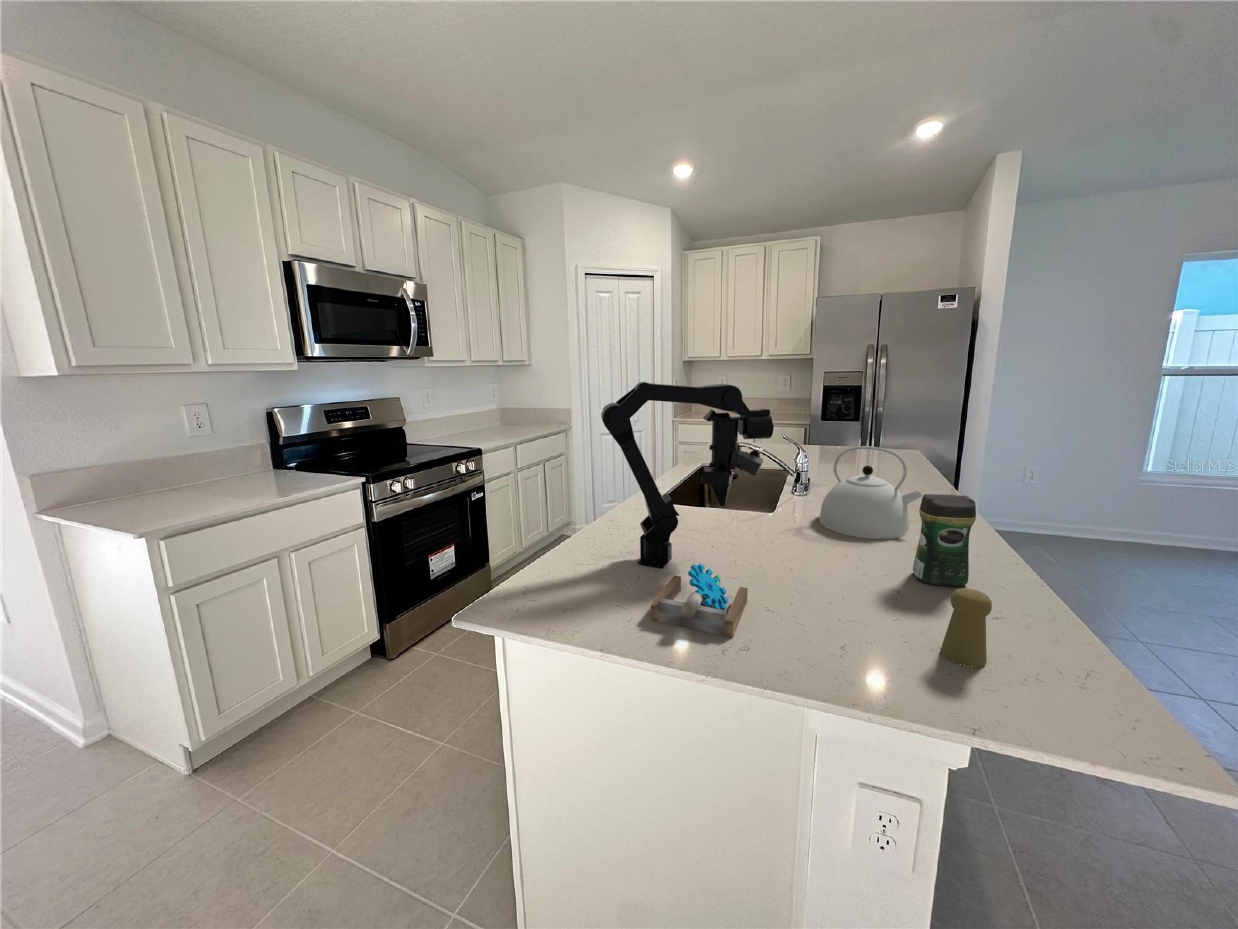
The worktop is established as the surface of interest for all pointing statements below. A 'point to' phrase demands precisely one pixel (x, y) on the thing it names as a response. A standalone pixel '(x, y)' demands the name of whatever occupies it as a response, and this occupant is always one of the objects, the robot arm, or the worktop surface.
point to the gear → (708, 586)
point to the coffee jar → (944, 539)
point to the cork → (967, 628)
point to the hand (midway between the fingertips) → (722, 505)
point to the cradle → (697, 611)
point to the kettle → (867, 504)
